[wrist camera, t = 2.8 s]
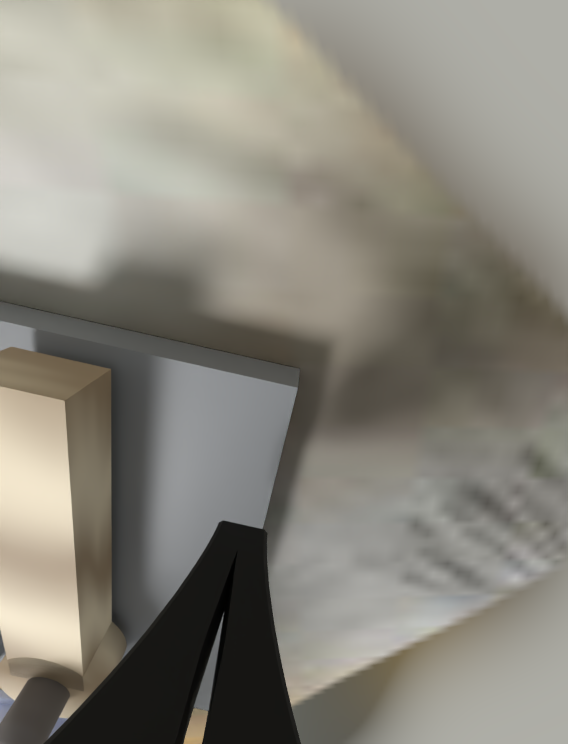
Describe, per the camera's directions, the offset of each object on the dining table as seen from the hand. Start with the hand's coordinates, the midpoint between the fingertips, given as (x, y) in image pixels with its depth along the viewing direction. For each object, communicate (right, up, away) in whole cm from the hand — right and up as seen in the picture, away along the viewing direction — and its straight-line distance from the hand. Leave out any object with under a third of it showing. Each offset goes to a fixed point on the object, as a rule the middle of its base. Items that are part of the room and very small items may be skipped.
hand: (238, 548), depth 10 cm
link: (-7, -2, +3) cm, 8 cm away
